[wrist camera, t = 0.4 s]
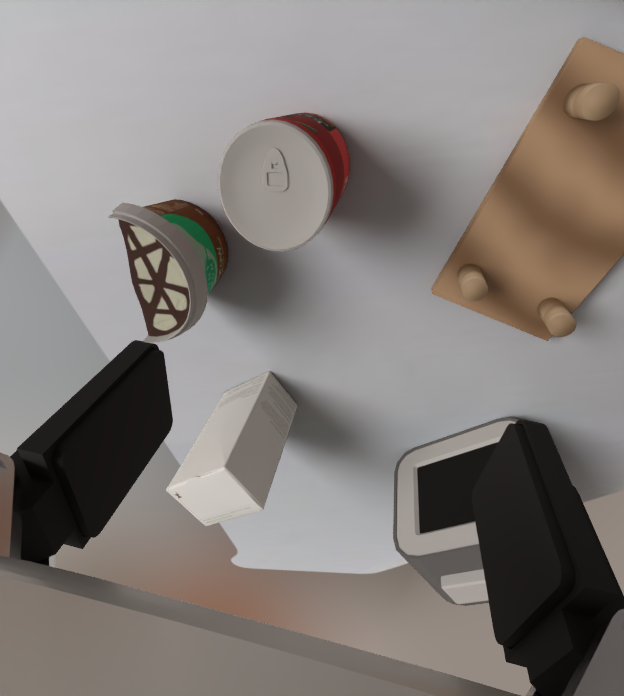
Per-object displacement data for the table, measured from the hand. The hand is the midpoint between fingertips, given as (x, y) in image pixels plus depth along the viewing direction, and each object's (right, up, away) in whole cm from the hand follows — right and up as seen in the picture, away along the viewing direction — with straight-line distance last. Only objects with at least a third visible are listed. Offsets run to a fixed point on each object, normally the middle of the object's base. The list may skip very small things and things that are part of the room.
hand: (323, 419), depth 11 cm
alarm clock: (+20, -13, +39) cm, 45 cm away
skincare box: (-7, -4, +40) cm, 40 cm away
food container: (-11, +12, +30) cm, 34 cm away
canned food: (-1, +18, +23) cm, 30 cm away
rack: (+20, +13, +22) cm, 32 cm away
